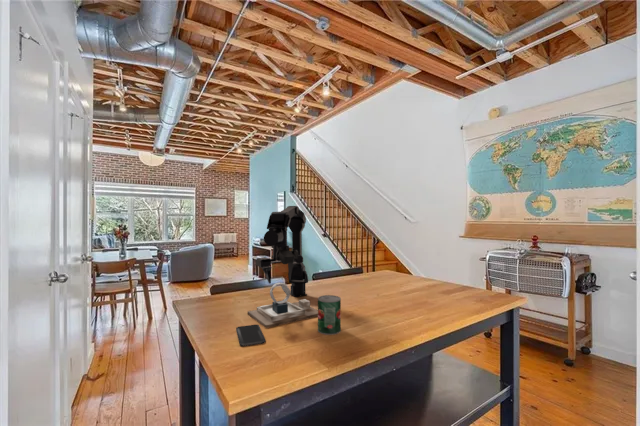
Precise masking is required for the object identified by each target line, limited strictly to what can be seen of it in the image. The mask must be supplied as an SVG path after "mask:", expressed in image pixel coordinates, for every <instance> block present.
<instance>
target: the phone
mask: <svg viewBox="0 0 640 426" xmlns="http://www.w3.org/2000/svg"><path fill="white" fill-rule="evenodd" d="M235 331H236V335H237V339H238V342H239V346H240V347H243V348H244V347H250V346H256V345H257V346H258V345H263V344H265V343H266V337H265V336H264V334H263V331H262V329H261V326H260V325H259V324H250V325H241V326H237V327H236V329H235Z"/></svg>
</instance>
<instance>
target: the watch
mask: <svg viewBox="0 0 640 426" xmlns="http://www.w3.org/2000/svg"><path fill="white" fill-rule="evenodd" d="M279 285H280V286H281V290H282V291H283V293H284V294H285V295H286V296H285V298H284V299H282V300H278V301H277V300H276V298H275V296H274V289H275V288H276V287H277V286H279ZM290 293H291V289H290V288H289V286H288V285H287V284H286V283H285V282H283V283H282V282H276V283H274V284H272V286H271V287H270V290H269V295H270V296H269V297H270V298H271V300H272V303H271V304H272V310H273V311H274V312H276V313H277V314H280V313H286V312H288V304H287V303H285V302H286V301H288V300H289V299H290V297H291V295H290Z"/></svg>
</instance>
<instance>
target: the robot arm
mask: <svg viewBox="0 0 640 426" xmlns="http://www.w3.org/2000/svg"><path fill="white" fill-rule="evenodd" d="M306 223H307V218H306V214H305V212H304V211H303V210H301V209H300V208H299V206H298V205H288V206H286V207H285V208H284V209H282V210H281V211H272V212H271V213H270V215H269V218H268V221H267V225H266V229H267V231H266V232H265V233H264V236H263V241H264V243H265V244H266V245H267V246H270V248H271V249H272V255H271V258H269V257H257V258H256V259H255V266H257V267H258V268H260V269H262V271H263V273H264V275H265V278H266V279H267V283H268V284H270V285H271V284H272V274H271V273H272V272H271V271H272V266H271V265H272V264H279V263H280V264H281V263H282V264H283V265H287V267H288V268H287V271H288V272H287V275H288V283H289V284H291V285H290V292H291V293H290V296H293V297H295V298H298V297H304V296H307V295H308V293H307V292H306V284H308V283H309V276H308V273H307V271H306V266H305V264H304V257H303V242H302V240H303V237H302V233H303V230H304V229H305V228H306ZM288 228H289V230H290V231H291V237H292V240H291V242H292V243H291V245H292V250H290V246H289V245H288Z"/></svg>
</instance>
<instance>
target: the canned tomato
mask: <svg viewBox="0 0 640 426" xmlns="http://www.w3.org/2000/svg"><path fill="white" fill-rule="evenodd" d="M341 300H342V299H341V297H340V296H337V295H333V294H332V295H331V294H326V295H320V296H318V297H317V310H318V316H317V331H318V333H320V334H322V335H325V336H327V335H328V336H333V335H338V334H340V333H341V332H342V328H341V326H342V325H341V323H342V322H341V321H342V318H341V317H342V315H341V312H342V311H341V308H342V307H341V305H342V304H341Z"/></svg>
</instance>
